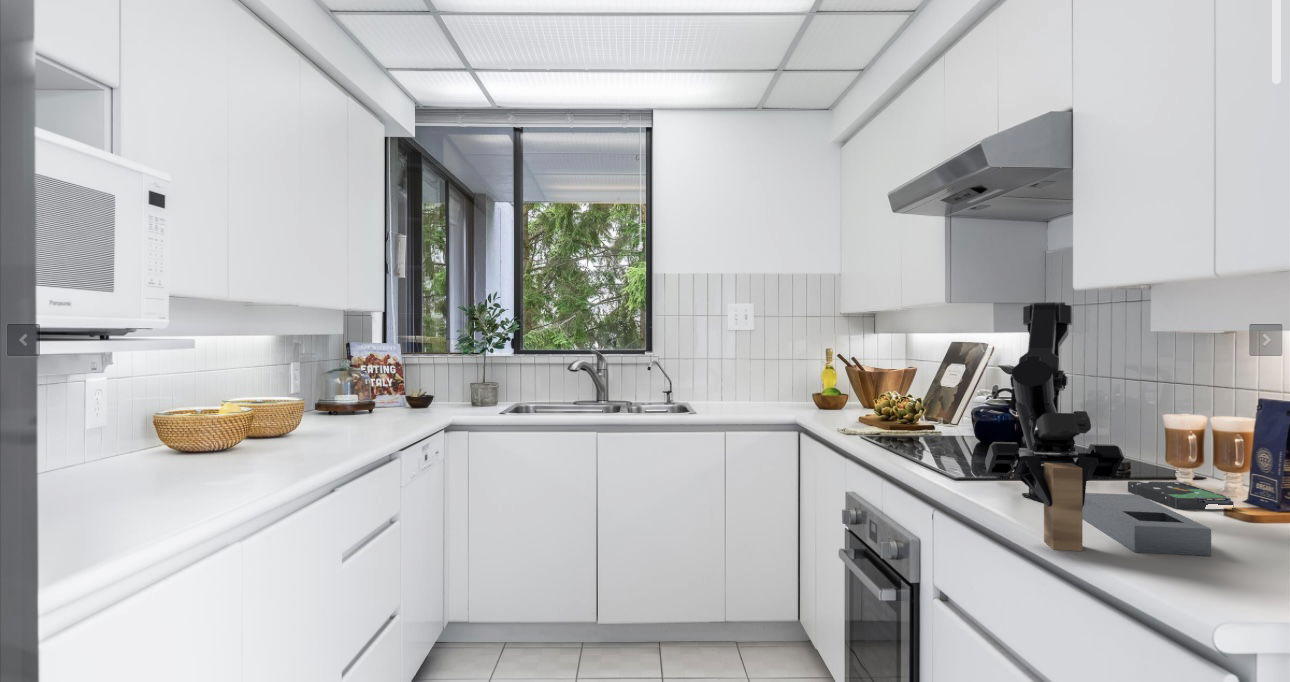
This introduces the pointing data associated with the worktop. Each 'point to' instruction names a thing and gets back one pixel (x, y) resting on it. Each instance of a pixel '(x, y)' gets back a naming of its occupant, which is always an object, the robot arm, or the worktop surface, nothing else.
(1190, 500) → the disk drive
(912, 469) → the worktop surface
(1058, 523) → the walnut peg
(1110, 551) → the worktop surface
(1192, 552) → the block
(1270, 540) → the worktop surface
